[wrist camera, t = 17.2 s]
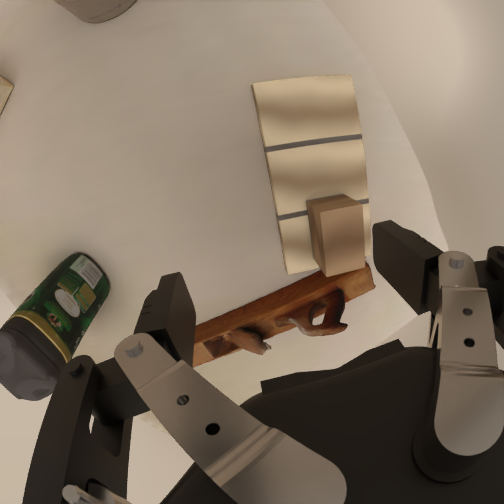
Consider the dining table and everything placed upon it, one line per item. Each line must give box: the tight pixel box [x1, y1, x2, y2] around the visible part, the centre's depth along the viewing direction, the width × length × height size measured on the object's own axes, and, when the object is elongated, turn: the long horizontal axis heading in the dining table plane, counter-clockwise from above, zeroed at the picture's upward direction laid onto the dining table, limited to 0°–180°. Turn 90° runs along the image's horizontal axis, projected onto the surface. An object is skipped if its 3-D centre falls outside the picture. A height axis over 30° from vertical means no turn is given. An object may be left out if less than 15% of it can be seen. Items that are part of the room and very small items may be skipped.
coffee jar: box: [0, 254, 109, 401], centre depth 25 cm, size 10×8×19 cm
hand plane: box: [193, 261, 375, 367], centre depth 34 cm, size 34×5×10 cm, turn 118°
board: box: [252, 75, 371, 275], centre depth 31 cm, size 22×11×2 cm, turn 11°
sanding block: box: [306, 194, 365, 277], centre depth 30 cm, size 7×4×5 cm, turn 11°
